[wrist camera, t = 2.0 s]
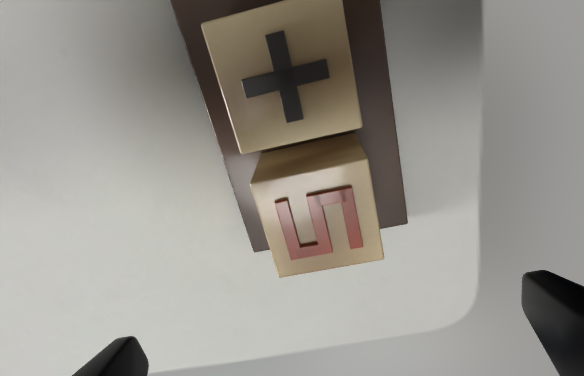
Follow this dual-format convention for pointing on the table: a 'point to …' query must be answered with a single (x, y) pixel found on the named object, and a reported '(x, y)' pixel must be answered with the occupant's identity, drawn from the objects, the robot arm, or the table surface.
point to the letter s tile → (318, 206)
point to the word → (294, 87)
